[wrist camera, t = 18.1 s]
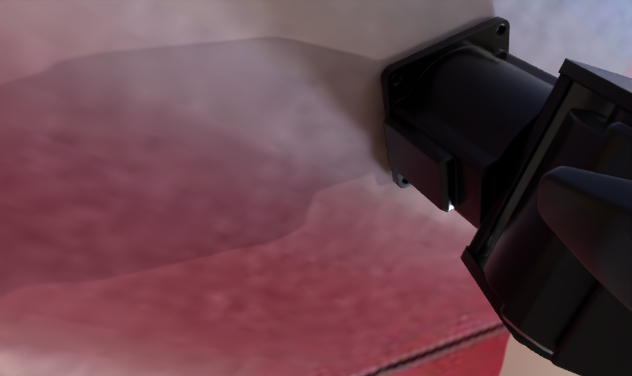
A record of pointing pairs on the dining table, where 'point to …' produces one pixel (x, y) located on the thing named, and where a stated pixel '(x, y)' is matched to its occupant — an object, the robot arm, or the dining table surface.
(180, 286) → the dining table surface
